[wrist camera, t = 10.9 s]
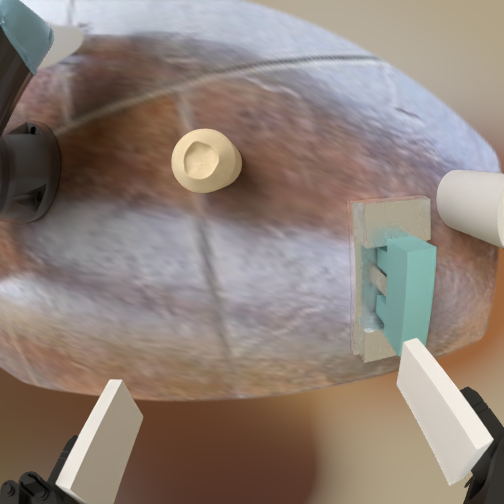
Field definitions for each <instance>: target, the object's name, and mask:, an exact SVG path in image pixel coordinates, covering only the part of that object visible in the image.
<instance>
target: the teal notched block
mask: <svg viewBox="0 0 504 504" xmlns="http://www.w3.org/2000/svg"><path fill="white" fill-rule="evenodd" d="M436 249H437V247H435V246H433V245H431V244H429V243H427V242H425V241H423V240H421V239H419V238H417V237H415V236H409V237H402V238H394V239H387V246H382V247H377V266H378V267H379V268H380V269H382V270H383V271H384V272H385V273H386V274H387V286H386V297H385V296H384V294H383V295H378V296H377V307H376V313H377V315H378V316H379V317H380V319H381V320H382V321H383V323H384V336H385V337H386V339H387V340H388V342H389V343H390V345H391V346H392V348H393V349H394V351H395V352H396V354H397V355H398V357H400V356H401V355H402V348H403V342H405V341H408V340H411V339H414V338H418V339H419V340H420V342H421V343H422V344H423V345H424V346H426V340H427V335H428V329H429V322H430V316H431V308H432V300H433V291H434V281H435V268H436Z"/></svg>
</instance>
